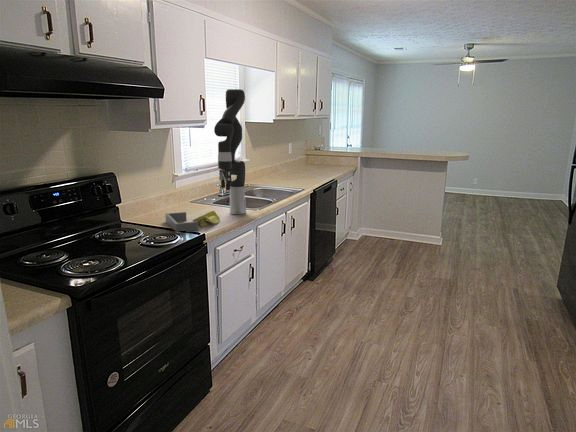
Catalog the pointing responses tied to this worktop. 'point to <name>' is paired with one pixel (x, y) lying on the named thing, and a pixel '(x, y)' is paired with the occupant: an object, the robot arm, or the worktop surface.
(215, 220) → the plastic component
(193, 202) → the worktop surface
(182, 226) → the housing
